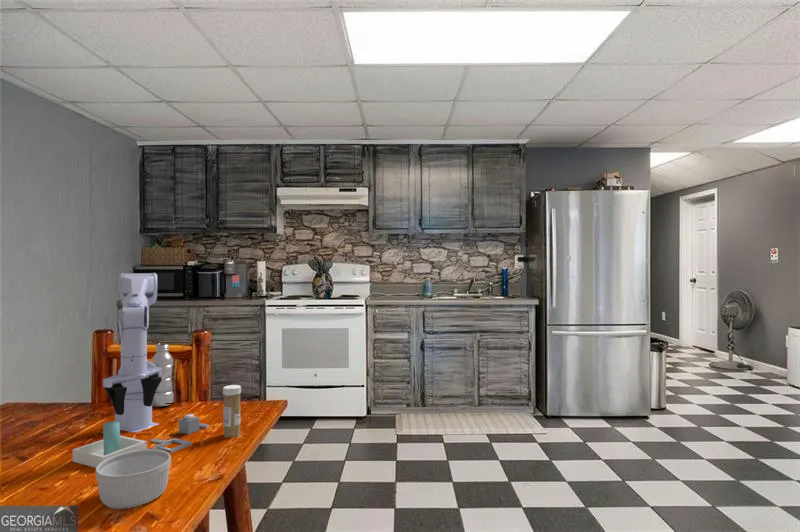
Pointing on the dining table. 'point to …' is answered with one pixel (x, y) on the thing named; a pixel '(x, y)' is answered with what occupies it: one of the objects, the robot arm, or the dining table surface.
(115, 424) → the pin
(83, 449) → the tray
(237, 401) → the sprinkles bottle
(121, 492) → the ramekin
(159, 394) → the plastic bottle
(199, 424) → the rail
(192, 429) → the carriage
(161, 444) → the block
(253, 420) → the dining table surface
